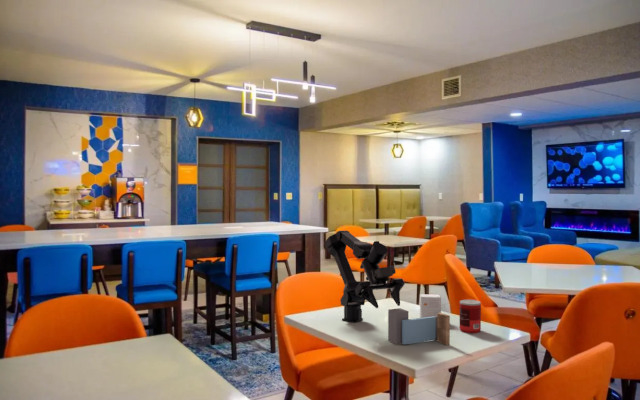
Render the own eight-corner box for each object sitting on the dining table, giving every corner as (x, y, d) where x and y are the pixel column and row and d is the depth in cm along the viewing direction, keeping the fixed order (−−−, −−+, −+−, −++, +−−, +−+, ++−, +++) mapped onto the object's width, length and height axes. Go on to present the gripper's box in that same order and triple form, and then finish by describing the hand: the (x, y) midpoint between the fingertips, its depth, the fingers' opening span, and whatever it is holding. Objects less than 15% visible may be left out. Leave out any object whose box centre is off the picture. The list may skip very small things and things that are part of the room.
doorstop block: (388, 340, 174) (388, 309, 174) (400, 339, 176) (400, 308, 176) (396, 344, 169) (396, 312, 169) (408, 342, 171) (408, 311, 171)
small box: (439, 319, 204) (439, 294, 204) (441, 323, 198) (441, 297, 198) (419, 319, 205) (419, 293, 205) (420, 322, 199) (421, 296, 199)
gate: (436, 339, 176) (436, 315, 175) (439, 340, 174) (439, 316, 174) (401, 344, 169) (402, 320, 169) (404, 345, 168) (404, 321, 168)
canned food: (481, 329, 189) (482, 300, 189) (479, 334, 182) (479, 304, 182) (461, 326, 193) (461, 298, 193) (457, 332, 185) (458, 302, 185)
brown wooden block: (437, 341, 173) (437, 313, 173) (440, 341, 174) (440, 312, 173) (446, 345, 169) (446, 316, 168) (449, 344, 169) (449, 315, 169)
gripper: (359, 259, 179) (374, 296, 169) (402, 257, 187) (419, 291, 177) (348, 277, 186) (362, 313, 176) (390, 274, 194) (406, 308, 184)
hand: (388, 306), depth 178 cm, fingers open, 9 cm apart
